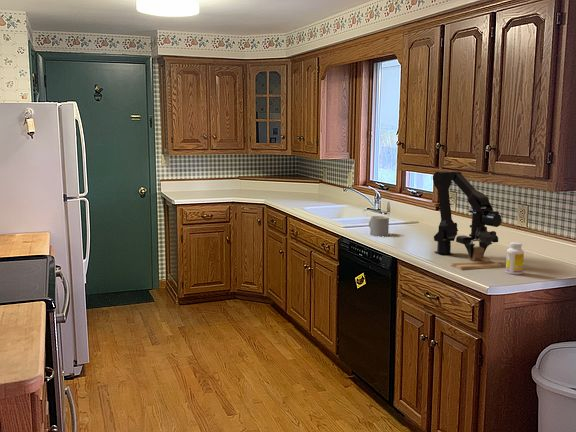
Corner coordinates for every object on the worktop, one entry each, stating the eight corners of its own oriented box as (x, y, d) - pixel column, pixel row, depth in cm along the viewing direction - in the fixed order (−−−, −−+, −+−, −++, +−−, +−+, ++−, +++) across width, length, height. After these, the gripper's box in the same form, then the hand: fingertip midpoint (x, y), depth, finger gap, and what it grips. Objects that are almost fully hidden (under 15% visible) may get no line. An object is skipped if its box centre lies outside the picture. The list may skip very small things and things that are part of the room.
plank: (450, 265, 260) (450, 262, 260) (488, 262, 267) (488, 260, 267) (461, 269, 253) (461, 266, 253) (500, 266, 259) (500, 264, 259)
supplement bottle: (524, 273, 249) (527, 243, 247) (518, 275, 244) (521, 245, 242) (509, 270, 253) (511, 240, 251) (502, 273, 248) (504, 243, 246)
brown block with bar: (468, 259, 268) (469, 246, 268) (477, 259, 270) (478, 246, 269) (482, 264, 259) (483, 251, 258) (491, 264, 261) (492, 250, 260)
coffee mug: (391, 236, 328) (392, 218, 327) (375, 237, 325) (376, 218, 323) (379, 231, 340) (380, 214, 339) (364, 232, 337) (364, 215, 335)
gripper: (471, 227, 254) (469, 263, 257) (507, 225, 260) (505, 260, 263) (456, 223, 265) (454, 257, 267) (491, 221, 271) (489, 255, 273)
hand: (476, 257), depth 267 cm, fingers closed on brown block with bar, 5 cm apart
